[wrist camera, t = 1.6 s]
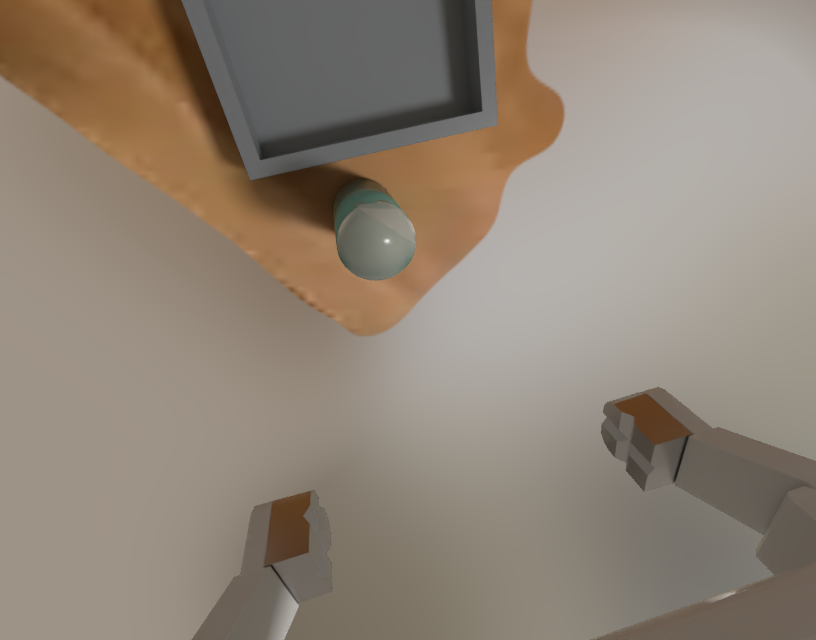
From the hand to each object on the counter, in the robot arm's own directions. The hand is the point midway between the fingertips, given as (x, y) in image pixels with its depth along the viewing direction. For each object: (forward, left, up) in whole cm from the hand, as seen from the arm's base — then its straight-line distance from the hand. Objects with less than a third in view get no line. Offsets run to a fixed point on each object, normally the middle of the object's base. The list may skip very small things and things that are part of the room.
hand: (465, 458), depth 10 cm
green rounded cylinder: (0, 0, -29) cm, 29 cm away
